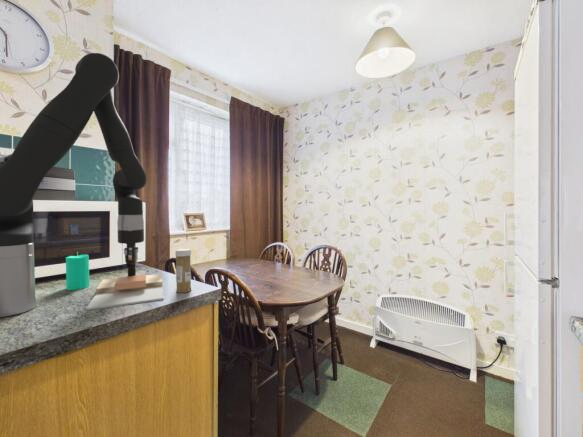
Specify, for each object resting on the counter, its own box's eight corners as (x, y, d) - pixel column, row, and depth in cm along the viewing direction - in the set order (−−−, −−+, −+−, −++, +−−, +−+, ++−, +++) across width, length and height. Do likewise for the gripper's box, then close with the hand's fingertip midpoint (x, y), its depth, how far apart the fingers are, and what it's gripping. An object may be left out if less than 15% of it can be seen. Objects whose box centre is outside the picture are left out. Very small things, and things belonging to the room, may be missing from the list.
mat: (86, 310, 68) (86, 308, 68) (96, 295, 79) (96, 293, 79) (163, 299, 76) (163, 297, 76) (162, 287, 87) (162, 286, 87)
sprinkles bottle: (192, 291, 83) (192, 249, 83) (177, 294, 81) (176, 251, 80) (189, 288, 87) (189, 248, 87) (174, 290, 85) (174, 249, 84)
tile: (115, 290, 78) (114, 283, 78) (117, 283, 85) (117, 277, 85) (145, 286, 82) (145, 280, 82) (146, 280, 89) (145, 274, 89)
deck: (96, 295, 79) (96, 289, 79) (103, 285, 90) (103, 279, 90) (162, 287, 87) (162, 281, 87) (161, 278, 98) (161, 273, 98)
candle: (92, 283, 91) (91, 249, 91) (85, 289, 85) (84, 252, 85) (71, 285, 89) (70, 250, 89) (62, 290, 84) (61, 253, 83)
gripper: (119, 227, 92) (120, 276, 92) (115, 230, 80) (116, 286, 81) (144, 226, 95) (144, 273, 96) (143, 229, 83) (144, 282, 84)
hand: (131, 279), depth 88 cm, fingers closed
